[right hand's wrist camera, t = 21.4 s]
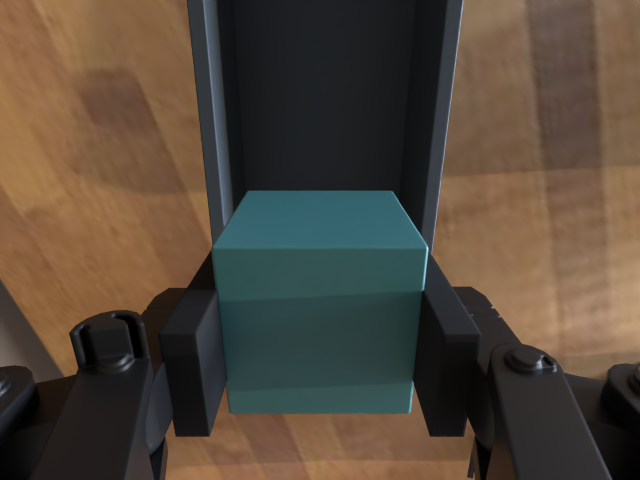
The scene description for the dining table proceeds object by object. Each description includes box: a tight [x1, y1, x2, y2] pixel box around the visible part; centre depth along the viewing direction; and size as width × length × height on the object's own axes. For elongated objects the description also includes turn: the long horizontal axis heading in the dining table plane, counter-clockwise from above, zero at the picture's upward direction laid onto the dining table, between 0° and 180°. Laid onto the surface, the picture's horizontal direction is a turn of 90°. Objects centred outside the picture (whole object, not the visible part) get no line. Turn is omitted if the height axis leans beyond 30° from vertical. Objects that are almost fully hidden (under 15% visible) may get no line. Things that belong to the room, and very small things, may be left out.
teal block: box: [211, 191, 428, 414], centre depth 12 cm, size 5×5×5 cm
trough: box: [187, 0, 464, 255], centre depth 20 cm, size 11×31×7 cm, turn 0°
